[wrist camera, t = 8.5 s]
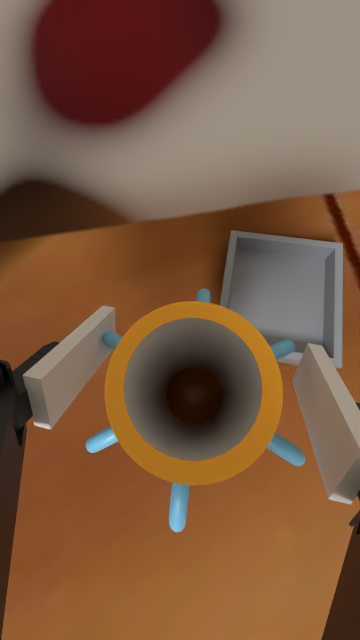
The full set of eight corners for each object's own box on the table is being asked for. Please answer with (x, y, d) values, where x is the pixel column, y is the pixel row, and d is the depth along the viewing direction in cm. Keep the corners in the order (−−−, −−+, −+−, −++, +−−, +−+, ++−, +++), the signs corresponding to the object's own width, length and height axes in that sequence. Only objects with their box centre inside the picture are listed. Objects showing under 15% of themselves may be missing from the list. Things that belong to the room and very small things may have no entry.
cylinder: (230, 308, 22) (292, 137, 8) (298, 424, 19) (613, 493, 5) (100, 370, 21) (-99, 303, 7) (150, 503, 18) (-27, 903, 4)
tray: (212, 351, 37) (213, 345, 33) (228, 245, 42) (231, 230, 38) (326, 370, 35) (342, 367, 31) (328, 257, 40) (342, 243, 36)
